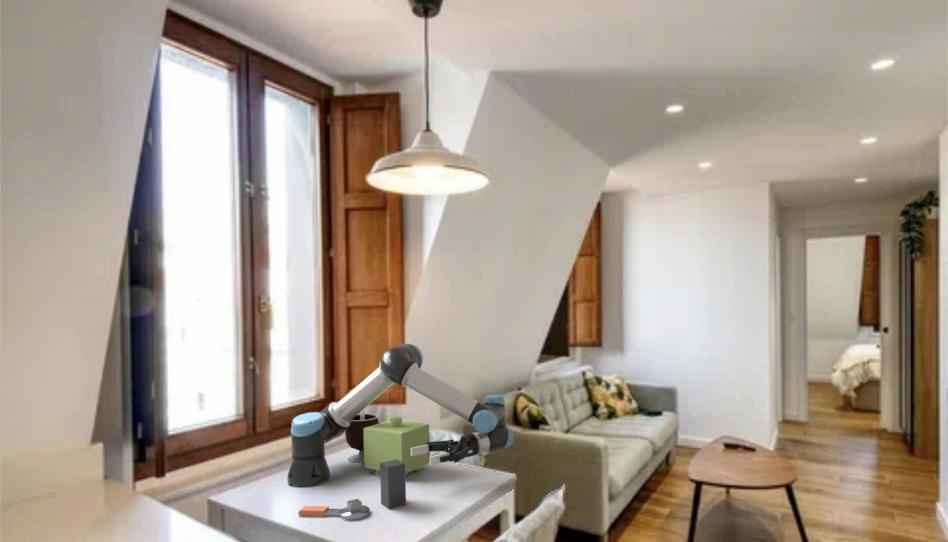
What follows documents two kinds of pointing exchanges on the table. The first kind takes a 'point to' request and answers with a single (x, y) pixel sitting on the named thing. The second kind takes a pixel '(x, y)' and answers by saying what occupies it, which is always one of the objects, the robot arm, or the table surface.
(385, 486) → the dark grey block
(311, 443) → the robot arm
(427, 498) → the table surface
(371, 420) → the mate gourd
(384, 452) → the container
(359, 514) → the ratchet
